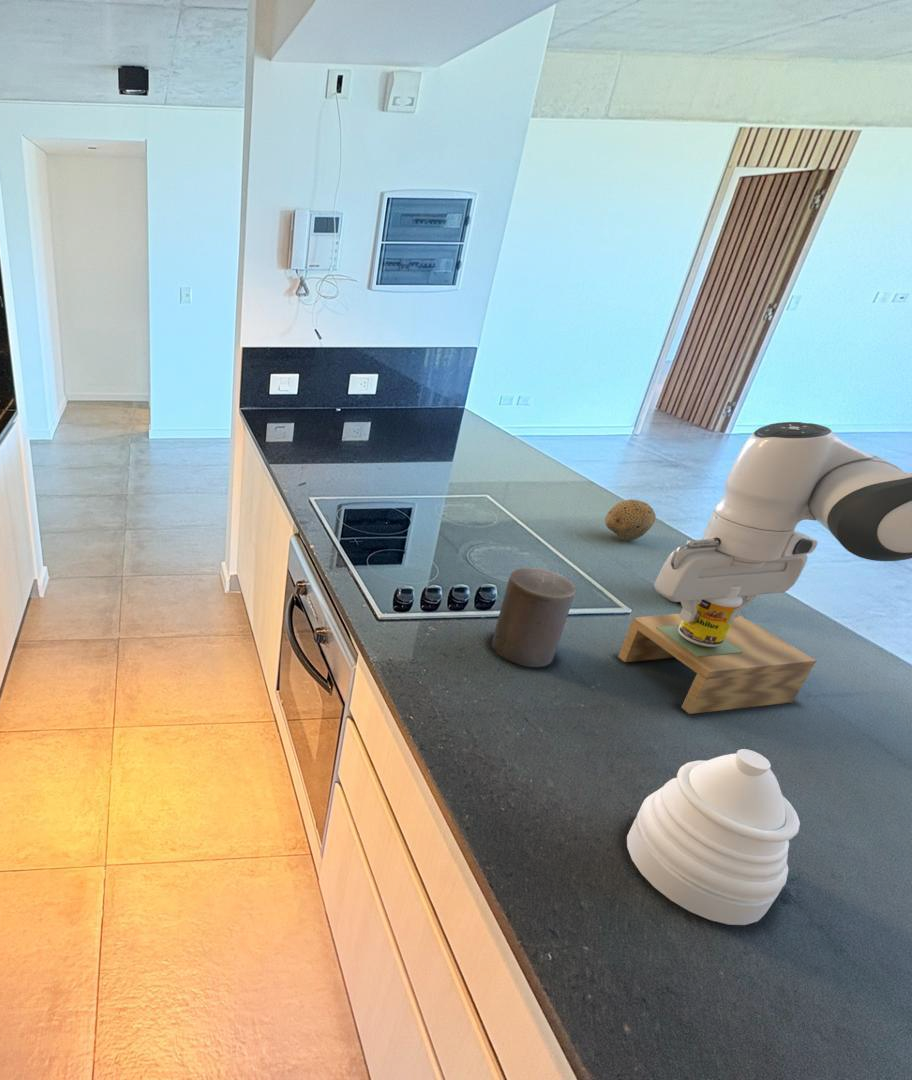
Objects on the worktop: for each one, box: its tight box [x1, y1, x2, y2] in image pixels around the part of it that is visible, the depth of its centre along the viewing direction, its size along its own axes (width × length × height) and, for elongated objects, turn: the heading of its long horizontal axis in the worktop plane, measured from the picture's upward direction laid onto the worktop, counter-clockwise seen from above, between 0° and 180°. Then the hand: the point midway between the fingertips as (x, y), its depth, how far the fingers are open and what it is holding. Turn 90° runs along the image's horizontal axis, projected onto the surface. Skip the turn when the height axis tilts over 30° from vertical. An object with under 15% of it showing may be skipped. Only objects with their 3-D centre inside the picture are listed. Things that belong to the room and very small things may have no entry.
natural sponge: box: [604, 499, 657, 542], centre depth 142 cm, size 9×9×10 cm
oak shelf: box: [618, 612, 817, 715], centre depth 97 cm, size 18×14×8 cm
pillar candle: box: [491, 567, 577, 668], centre depth 102 cm, size 10×10×15 cm
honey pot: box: [626, 748, 801, 926], centre depth 65 cm, size 13×13×18 cm
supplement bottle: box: [678, 587, 742, 647], centre depth 92 cm, size 6×6×10 cm
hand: (708, 618), depth 93 cm, fingers closed on supplement bottle, 5 cm apart
